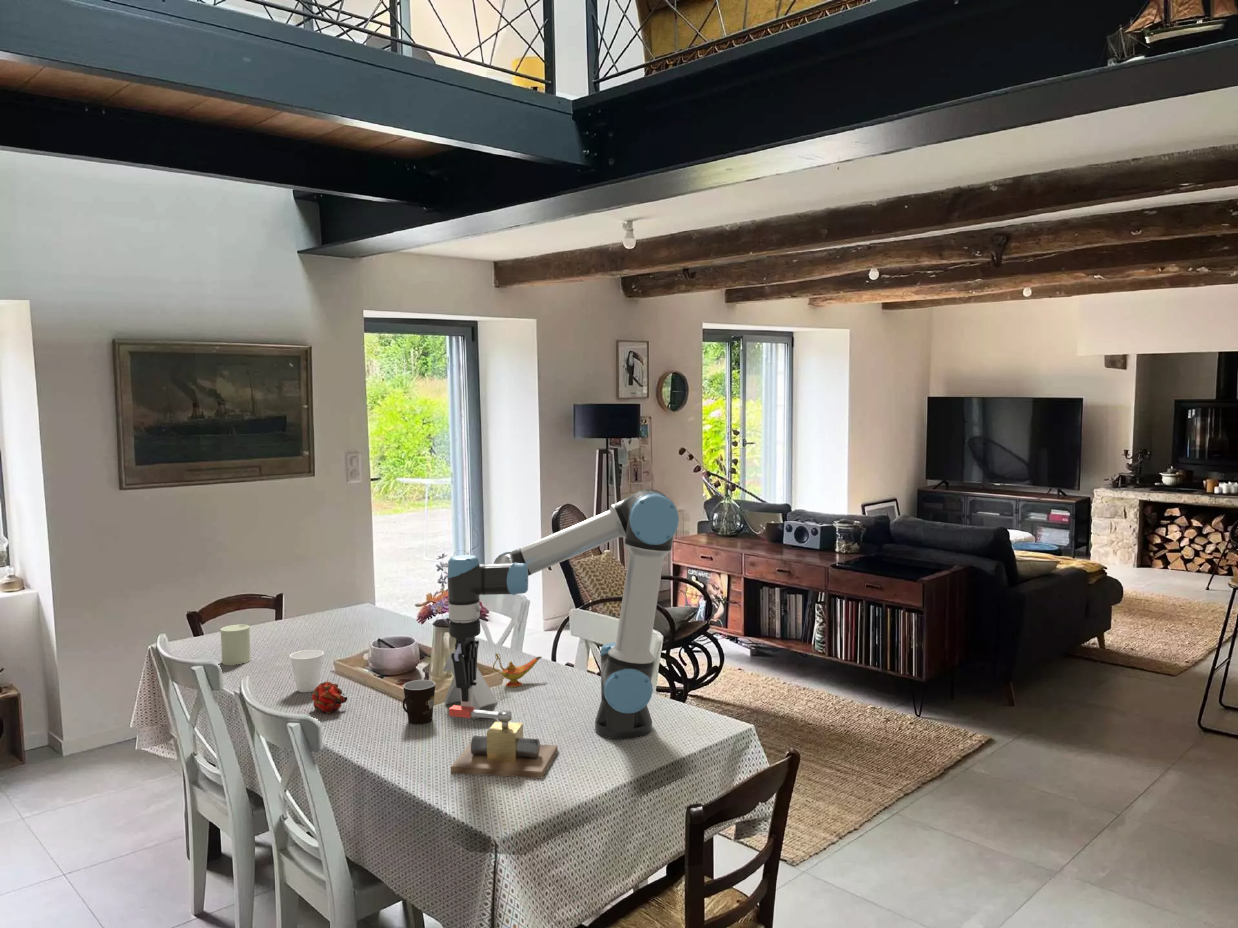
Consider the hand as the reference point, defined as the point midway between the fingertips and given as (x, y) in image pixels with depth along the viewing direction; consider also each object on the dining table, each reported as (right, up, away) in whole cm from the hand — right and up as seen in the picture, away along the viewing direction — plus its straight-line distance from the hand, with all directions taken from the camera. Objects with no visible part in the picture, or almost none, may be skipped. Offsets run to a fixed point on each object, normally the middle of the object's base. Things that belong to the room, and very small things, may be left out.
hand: (467, 712), depth 225 cm
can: (-92, -5, +82) cm, 123 cm away
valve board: (+10, -11, -5) cm, 15 cm away
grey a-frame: (-5, -8, +32) cm, 33 cm away
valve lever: (+4, 0, -3) cm, 5 cm away
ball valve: (+10, -9, -5) cm, 14 cm away
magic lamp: (+7, -6, +56) cm, 56 cm away
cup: (-57, -7, +52) cm, 77 cm away
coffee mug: (-18, -9, +23) cm, 31 cm away
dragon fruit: (-45, -9, +33) cm, 56 cm away
